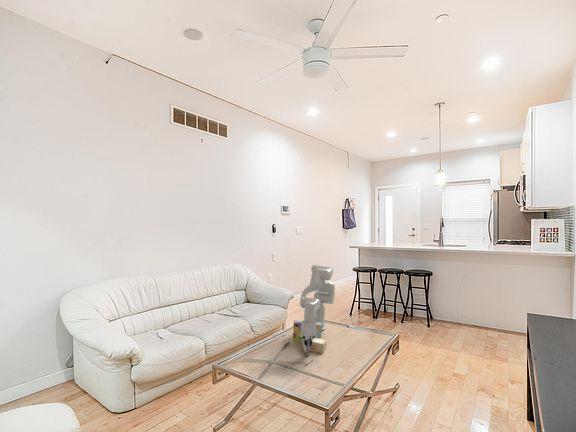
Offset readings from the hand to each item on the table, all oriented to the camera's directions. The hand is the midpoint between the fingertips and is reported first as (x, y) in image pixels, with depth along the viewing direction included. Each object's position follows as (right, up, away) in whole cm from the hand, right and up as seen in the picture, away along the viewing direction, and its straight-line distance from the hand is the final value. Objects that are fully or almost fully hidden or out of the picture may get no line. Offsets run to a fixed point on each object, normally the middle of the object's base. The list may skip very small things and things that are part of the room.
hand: (307, 345), depth 219 cm
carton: (+5, -7, +12) cm, 15 cm away
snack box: (0, -7, +23) cm, 24 cm away
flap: (-2, -7, +5) cm, 9 cm away
